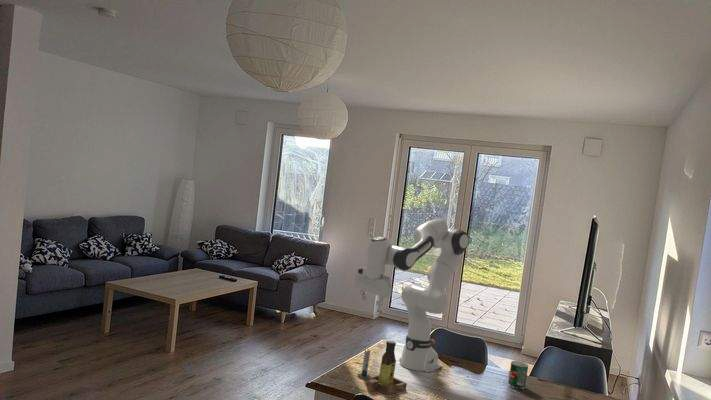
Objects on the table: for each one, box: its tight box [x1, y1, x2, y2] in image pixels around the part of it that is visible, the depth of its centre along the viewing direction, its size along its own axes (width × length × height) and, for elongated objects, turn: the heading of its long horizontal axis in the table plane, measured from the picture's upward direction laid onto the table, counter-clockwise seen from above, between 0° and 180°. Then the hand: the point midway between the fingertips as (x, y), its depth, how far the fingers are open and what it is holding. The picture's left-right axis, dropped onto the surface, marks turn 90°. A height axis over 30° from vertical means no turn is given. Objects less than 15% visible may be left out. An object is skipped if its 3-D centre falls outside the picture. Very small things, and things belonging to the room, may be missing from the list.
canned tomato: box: [507, 360, 529, 388], centre depth 268 cm, size 8×8×11 cm
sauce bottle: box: [378, 340, 397, 386], centre depth 243 cm, size 7×6×20 cm
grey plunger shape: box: [356, 349, 372, 380], centre depth 252 cm, size 6×6×12 cm
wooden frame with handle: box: [365, 374, 408, 396], centre depth 242 cm, size 16×12×4 cm
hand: (371, 302), depth 256 cm, fingers open, 8 cm apart
